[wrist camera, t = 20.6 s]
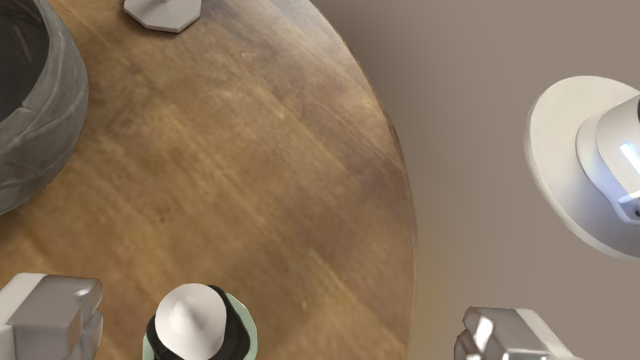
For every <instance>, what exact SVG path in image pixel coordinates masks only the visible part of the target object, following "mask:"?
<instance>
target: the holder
mask: <svg viewBox="0 0 640 360" xmlns="http://www.w3.org/2000/svg"><path fill="white" fill-rule="evenodd" d="M225 294H226V295H227V297H228V299H229V300H230V302H231V304H232V306H233V307H234V309H235V311H236V313H237V314H238V316H239V318H240V319H241V321H242V323H243V325H244V326H245V328H246V330H247V331H248V334H249V336H250V341H251V344H250V349H249V352H248V354H247V355H246V357H245V358H244V359H243V360H255V357H256V354H257V349H258V346H257V330H256V326H255V324H254V322H253V320H252V318H251V315H250V313H249V311H248V309H247V308H246V307H245V306H244V305H243V304H242V303H240V302H239V301H238V300H237V299H236V298H235V297H233V296H232V295H231V294H228V293H225ZM143 360H158V359H157V357H156V355H155V353H154V351H153V350H152V348H151V346H150V344H149V342H148V339H147V336H146V334H145V337H144V340H143Z"/></svg>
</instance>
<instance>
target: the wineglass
mask: <svg viewBox="0 0 640 360" xmlns="http://www.w3.org/2000/svg"><path fill="white" fill-rule="evenodd" d="M201 4H202V0H125V3H124V8H123V10H124V11H125V12H126V13H127V14H129V15H130V16H131V17H133V18H134V19H135V20H136V21H138V22H139V23H140V24H142V25H143V26H144V27H145V28H147V29H152V30H160V31H168V32H176V33H179V32H180V31H182V30H183V29H184V28H186V27H187V26H188V25H190V24H191V23H192V22H194V21H195V20H196V19H198V18H199V17H200V12H201Z"/></svg>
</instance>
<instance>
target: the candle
mask: <svg viewBox="0 0 640 360" xmlns="http://www.w3.org/2000/svg"><path fill="white" fill-rule="evenodd" d="M146 336H147V339H148V342H149V344H150V346H151V348H152V350H153V351H154V353H155V355H156V357H157V359H158V360H243V359H244V358H245V357H246V355H247V354H248V352H249V349H250V344H251V341H250V336H249V334H248V331H247V330H246V328H245V326H244V325H243V323H242V321H241V319H240V318H239V316H238V314H237V313H236V311H235V309H234V307H233V306H232V304H231V302H230V300H229V299H228V297H227V295H226V294H225V292H224V291H223V290H222V289H220V288H219V287H217V286H213V285H207V286H205V285H203V284H195V283H191V284H185V285H182V286H180V287H177V288H175V289H174V290H172V291H171V292H170V293H168V294H167V295H166V296H165V298H164V299H163V300H162V301H161V303H160V305H159V307H158V309H157V313H156V314H155V315H154V316H153V317H152V318H151V319H150V321H149V323H148V325H147V329H146Z"/></svg>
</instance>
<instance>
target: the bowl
mask: <svg viewBox="0 0 640 360" xmlns="http://www.w3.org/2000/svg"><path fill="white" fill-rule="evenodd" d="M88 96H89V89H88V76H87V71H86V67H85V64H84V62H83V59H82V57H81V54H80V52H79V50H78V48H77V46H76V43H75V41H74V39H73V37H72V35H71V33H70V32H69V30H68V28H67V27H66V25H65V24H64V22H63V21H62V19H61V18H60V16H59V15H58V14H57V13H56V12H55V10H54V8H53V7H52V6H51V4H50V3H49V2H48V1H47V0H0V215H2V214H4V213H6V212H8V211H10V210H12V209H14V208H16V207H18V206H20V205H22V204H23V203H25V202H26V201H28V200H30V199H31V198H32V197H34V196H35V195H37V194H38V193H39V192H40V191H41V190H43V189H44V188H45V187H46V185H47V184H49V183H50V182H51V181H52V180H53V179H54V178H55V177H56V175H57V174H58V173H59V172H60V171H61V169H62V168H63V166H64V165H65V164H66V162H67V161H68V159H69V158H70V156H71V154H72V152H73V150H74V148H75V146H76V144H77V141H78V139H79V136H80V133H81V130H82V127H83V125H84V121H85V117H86V112H87V107H88Z"/></svg>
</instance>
